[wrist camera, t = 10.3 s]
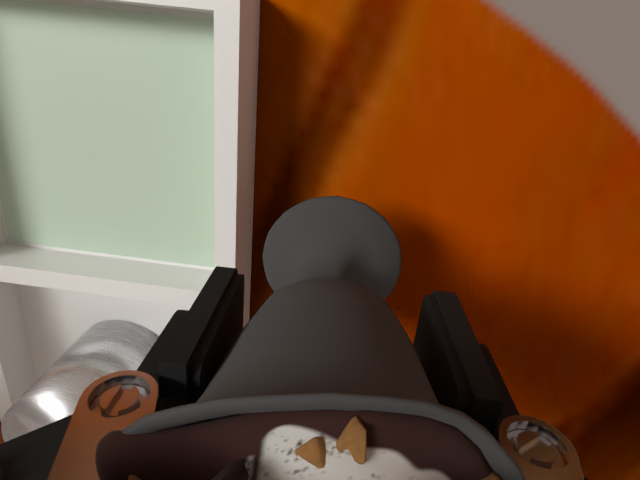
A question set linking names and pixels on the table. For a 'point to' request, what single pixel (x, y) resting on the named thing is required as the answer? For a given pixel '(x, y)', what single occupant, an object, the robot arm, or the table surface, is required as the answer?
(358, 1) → the table surface
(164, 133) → the shallow white tray
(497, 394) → the robot arm
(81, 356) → the cylinder
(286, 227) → the sundae
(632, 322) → the table surface
